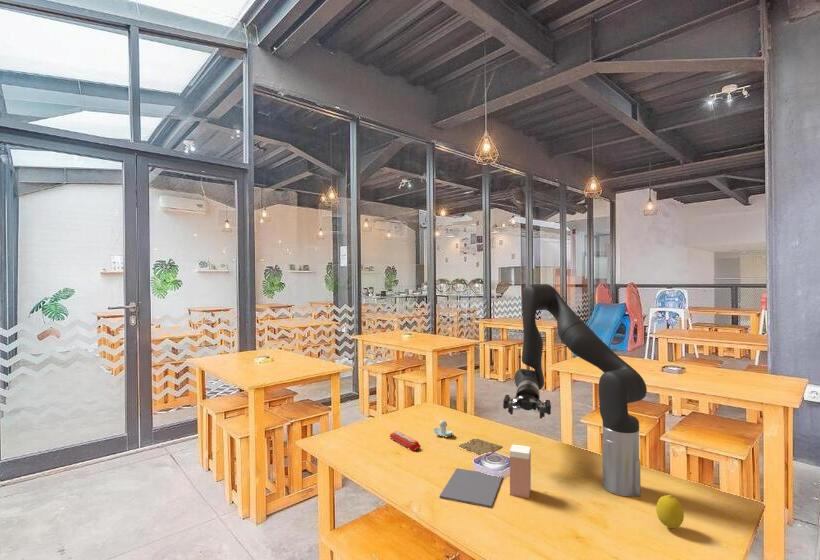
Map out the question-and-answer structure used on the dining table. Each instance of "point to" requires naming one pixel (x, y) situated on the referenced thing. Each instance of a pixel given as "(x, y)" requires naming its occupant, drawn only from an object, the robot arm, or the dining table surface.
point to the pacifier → (443, 429)
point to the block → (520, 470)
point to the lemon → (670, 511)
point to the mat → (472, 487)
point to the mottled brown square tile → (480, 446)
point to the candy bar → (405, 440)
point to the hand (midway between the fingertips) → (526, 413)
